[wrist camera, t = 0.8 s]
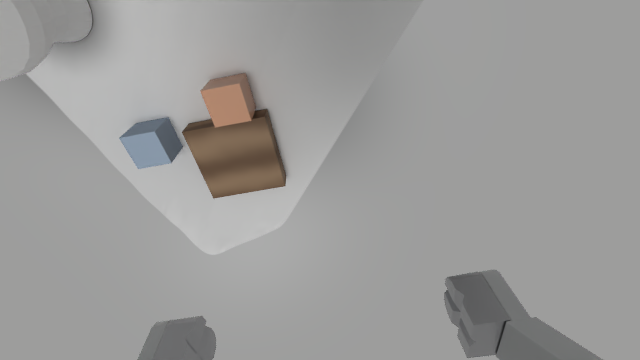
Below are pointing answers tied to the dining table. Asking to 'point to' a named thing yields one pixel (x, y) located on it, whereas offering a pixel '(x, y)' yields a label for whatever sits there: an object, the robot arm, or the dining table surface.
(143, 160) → the blue block
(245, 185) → the pedestal
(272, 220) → the dining table surface
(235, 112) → the terracotta block
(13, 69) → the cup
